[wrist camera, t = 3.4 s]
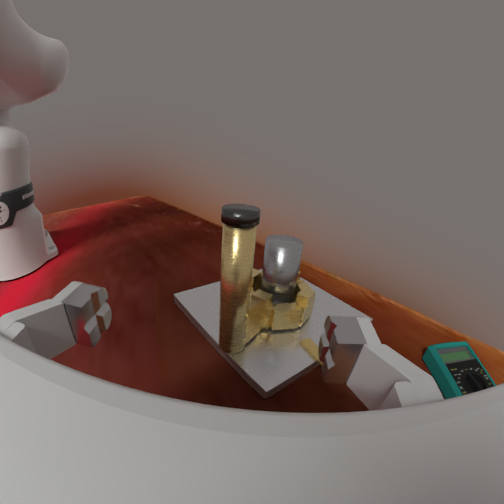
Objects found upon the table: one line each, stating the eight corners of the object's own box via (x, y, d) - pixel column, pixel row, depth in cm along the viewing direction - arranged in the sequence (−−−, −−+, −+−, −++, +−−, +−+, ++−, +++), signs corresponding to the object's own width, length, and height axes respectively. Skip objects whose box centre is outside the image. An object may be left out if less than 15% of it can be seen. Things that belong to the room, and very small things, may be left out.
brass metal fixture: (263, 282, 38) (274, 184, 33) (319, 304, 34) (341, 199, 29) (190, 333, 27) (188, 201, 22) (259, 372, 23) (281, 226, 18)
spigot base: (174, 301, 34) (170, 227, 30) (277, 270, 45) (285, 211, 41) (276, 410, 21) (299, 322, 17) (379, 332, 31) (405, 261, 27)
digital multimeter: (464, 455, 13) (483, 439, 12) (418, 358, 27) (428, 340, 26) (504, 435, 14) (521, 418, 12) (457, 353, 27) (467, 336, 26)
